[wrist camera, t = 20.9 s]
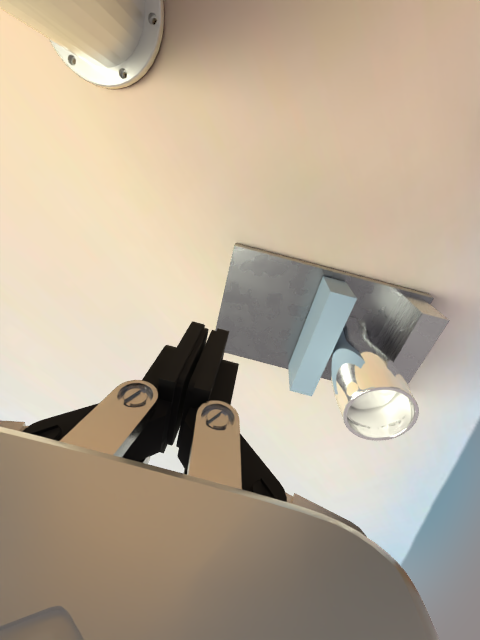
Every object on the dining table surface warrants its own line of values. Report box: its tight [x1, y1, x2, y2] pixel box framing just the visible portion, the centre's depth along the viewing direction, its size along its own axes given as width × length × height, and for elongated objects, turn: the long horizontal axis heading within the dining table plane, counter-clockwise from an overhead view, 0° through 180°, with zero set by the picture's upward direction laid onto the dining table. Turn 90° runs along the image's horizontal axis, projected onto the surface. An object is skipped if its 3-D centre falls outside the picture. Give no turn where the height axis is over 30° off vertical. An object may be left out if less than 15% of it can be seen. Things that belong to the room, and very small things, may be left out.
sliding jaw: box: [288, 276, 357, 396], centre depth 37 cm, size 3×14×6 cm, turn 167°
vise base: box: [215, 243, 450, 385], centre depth 37 cm, size 26×16×8 cm, turn 77°
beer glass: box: [331, 317, 419, 440], centre depth 33 cm, size 7×7×15 cm
